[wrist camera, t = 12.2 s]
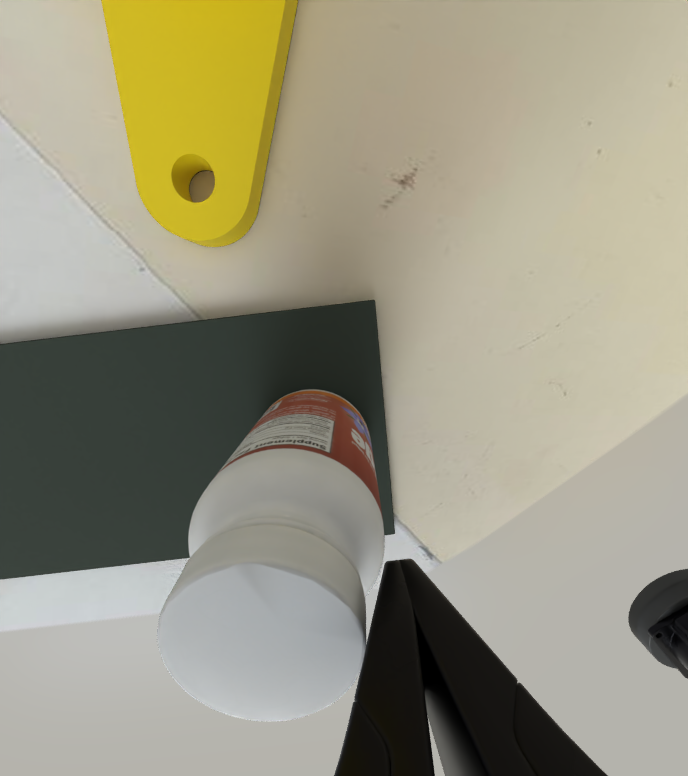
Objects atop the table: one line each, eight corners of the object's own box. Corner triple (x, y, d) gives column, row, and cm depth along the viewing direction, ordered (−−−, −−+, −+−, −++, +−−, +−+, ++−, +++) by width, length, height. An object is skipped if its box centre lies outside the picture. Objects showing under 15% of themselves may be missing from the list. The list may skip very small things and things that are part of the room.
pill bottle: (369, 489, 18) (397, 748, 8) (263, 488, 19) (146, 745, 8) (370, 385, 17) (408, 533, 6) (254, 385, 17) (91, 533, 6)
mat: (373, 299, 17) (375, 299, 16) (393, 527, 20) (395, 534, 20) (-122, 358, 17) (-139, 360, 16) (-13, 574, 20) (-23, 582, 20)
